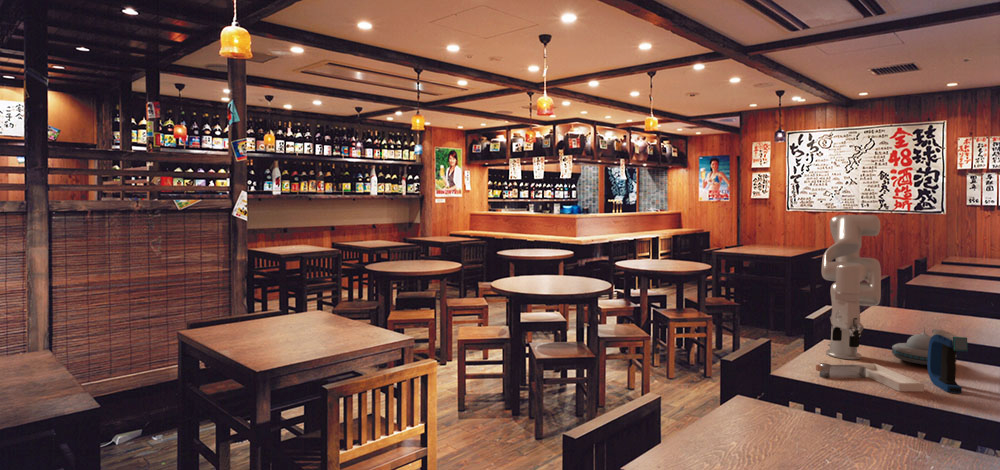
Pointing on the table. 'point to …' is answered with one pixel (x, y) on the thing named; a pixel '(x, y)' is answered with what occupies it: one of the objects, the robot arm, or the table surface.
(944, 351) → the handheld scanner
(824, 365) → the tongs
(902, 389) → the tongs rest
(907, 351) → the toy
